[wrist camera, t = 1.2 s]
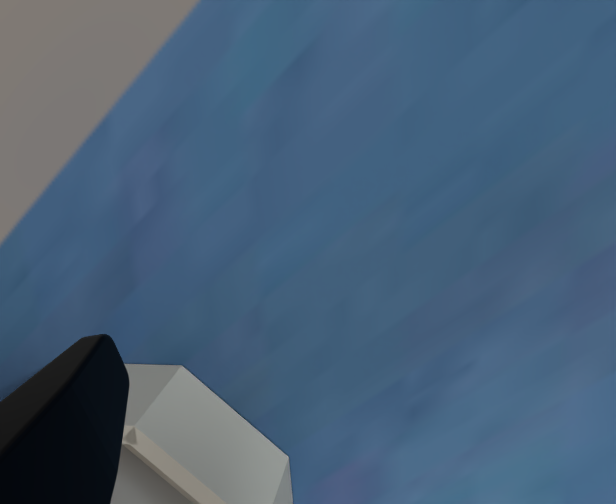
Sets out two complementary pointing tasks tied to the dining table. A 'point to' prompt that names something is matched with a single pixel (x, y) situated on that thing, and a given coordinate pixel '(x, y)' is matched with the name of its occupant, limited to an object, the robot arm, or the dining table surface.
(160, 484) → the octagonal boat dish
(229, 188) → the dining table surface
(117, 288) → the dining table surface
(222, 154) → the dining table surface
